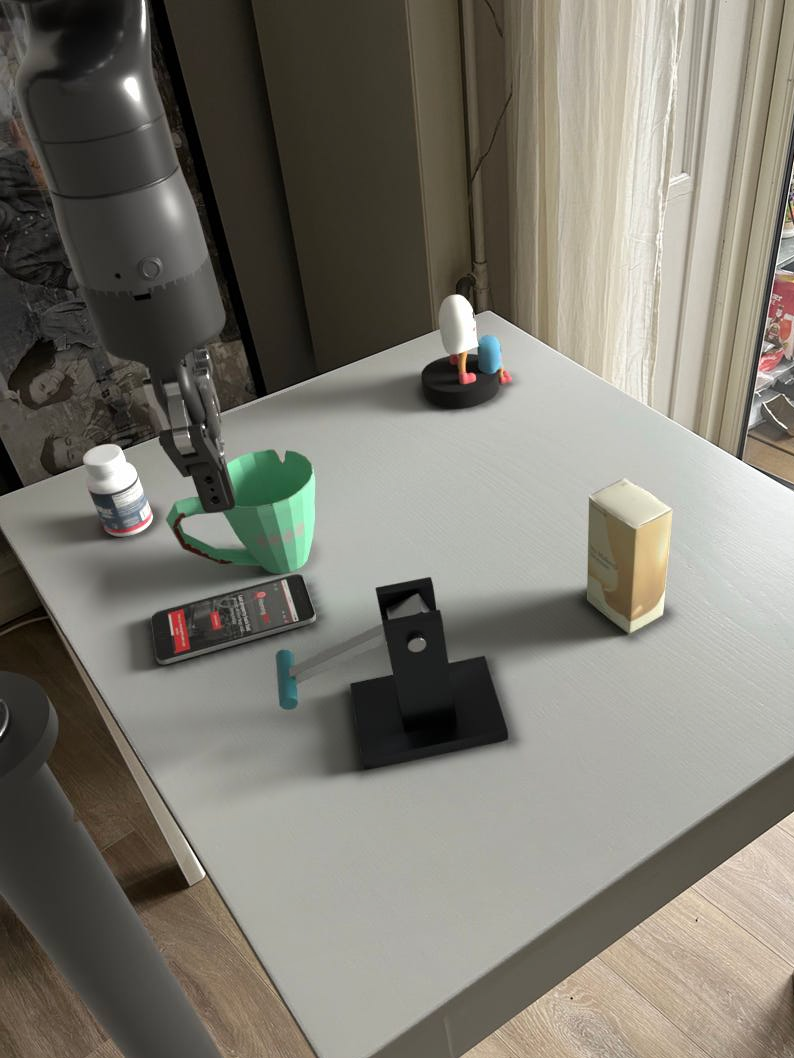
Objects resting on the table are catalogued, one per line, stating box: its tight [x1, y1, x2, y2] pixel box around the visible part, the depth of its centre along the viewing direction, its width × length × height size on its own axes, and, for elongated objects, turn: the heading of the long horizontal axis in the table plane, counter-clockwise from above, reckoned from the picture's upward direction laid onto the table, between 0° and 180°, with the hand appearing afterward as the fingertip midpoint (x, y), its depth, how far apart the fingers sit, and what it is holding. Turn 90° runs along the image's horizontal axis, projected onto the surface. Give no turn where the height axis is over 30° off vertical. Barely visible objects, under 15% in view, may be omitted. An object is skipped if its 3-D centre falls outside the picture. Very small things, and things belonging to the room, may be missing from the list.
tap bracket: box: [349, 576, 509, 771], centre depth 79 cm, size 12×9×13 cm
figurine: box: [420, 294, 513, 410], centre depth 119 cm, size 10×11×12 cm
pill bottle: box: [82, 443, 154, 538], centre depth 105 cm, size 5×5×9 cm
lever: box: [275, 593, 430, 711], centre depth 77 cm, size 13×6×2 cm, turn 102°
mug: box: [165, 448, 316, 575], centre depth 97 cm, size 15×10×10 cm
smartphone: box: [150, 573, 317, 665], centre depth 94 cm, size 7×1×15 cm
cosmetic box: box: [586, 477, 673, 634], centre depth 87 cm, size 6×4×12 cm
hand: (220, 505), depth 68 cm, fingers closed
